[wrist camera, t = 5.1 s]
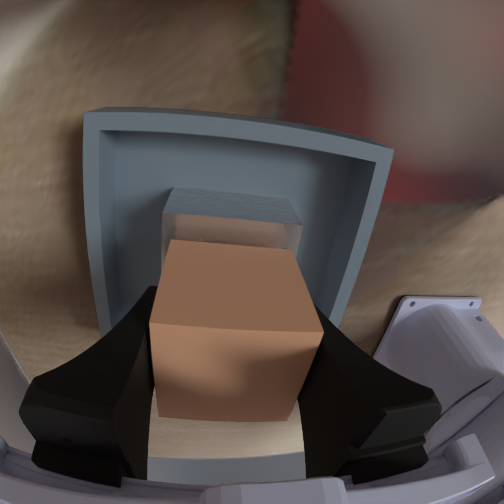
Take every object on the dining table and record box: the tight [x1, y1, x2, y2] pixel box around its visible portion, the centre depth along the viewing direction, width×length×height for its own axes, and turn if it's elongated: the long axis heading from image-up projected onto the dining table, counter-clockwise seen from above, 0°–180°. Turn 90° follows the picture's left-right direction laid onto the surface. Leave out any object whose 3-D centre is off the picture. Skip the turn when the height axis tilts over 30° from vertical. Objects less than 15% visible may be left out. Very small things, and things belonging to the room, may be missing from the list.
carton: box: [149, 239, 324, 422], centre depth 12 cm, size 5×5×5 cm
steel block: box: [161, 187, 303, 273], centre depth 16 cm, size 6×6×4 cm
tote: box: [83, 107, 394, 338], centre depth 17 cm, size 14×14×3 cm
